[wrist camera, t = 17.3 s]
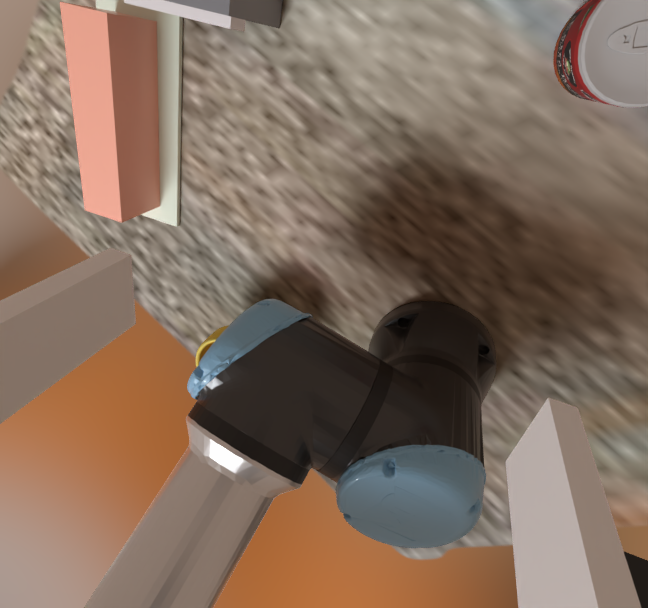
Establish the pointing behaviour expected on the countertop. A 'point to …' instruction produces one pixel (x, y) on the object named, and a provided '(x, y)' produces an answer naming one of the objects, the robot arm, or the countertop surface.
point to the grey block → (219, 11)
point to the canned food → (606, 53)
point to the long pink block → (114, 108)
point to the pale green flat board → (164, 103)
